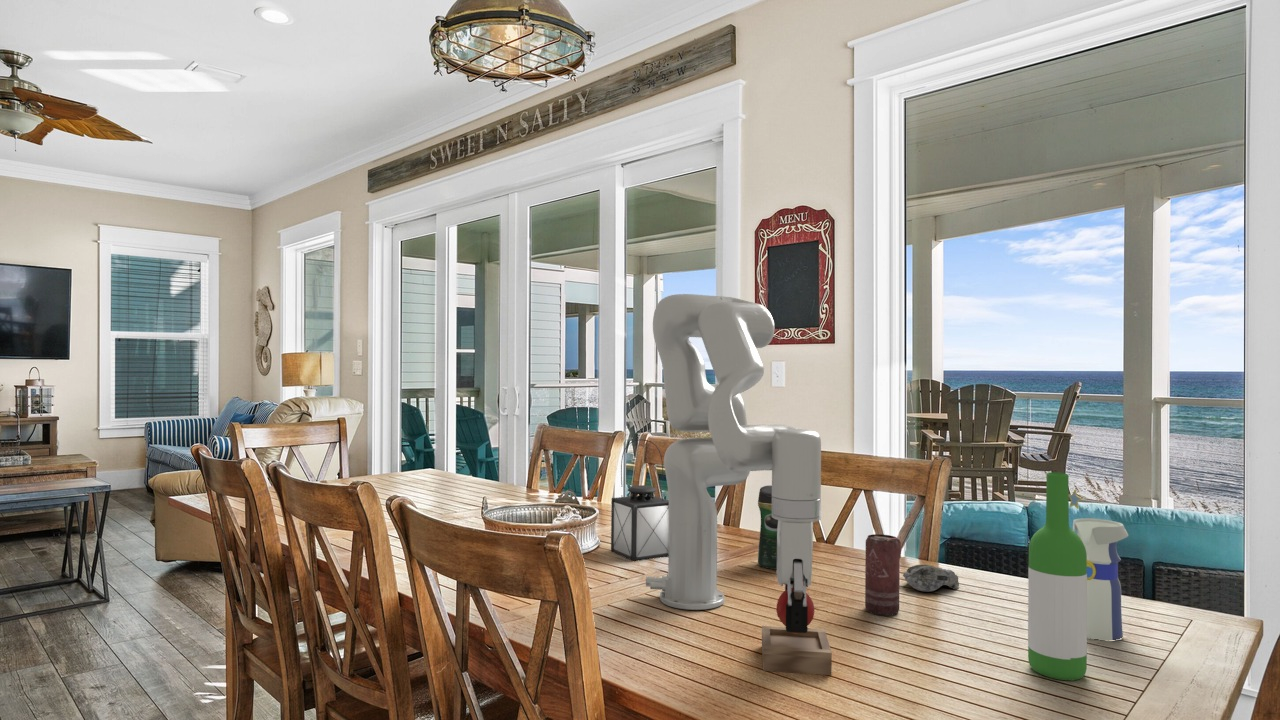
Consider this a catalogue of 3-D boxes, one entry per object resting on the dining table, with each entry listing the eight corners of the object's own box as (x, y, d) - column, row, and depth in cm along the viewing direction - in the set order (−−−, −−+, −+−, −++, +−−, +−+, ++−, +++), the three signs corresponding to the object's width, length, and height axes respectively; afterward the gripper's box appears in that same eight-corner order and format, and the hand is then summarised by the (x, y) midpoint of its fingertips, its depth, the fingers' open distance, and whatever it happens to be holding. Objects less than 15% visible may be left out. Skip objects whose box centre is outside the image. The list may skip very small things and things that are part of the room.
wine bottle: (1099, 680, 109) (1100, 476, 110) (1054, 684, 108) (1054, 477, 108) (1059, 660, 117) (1059, 469, 117) (1016, 663, 115) (1017, 470, 116)
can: (902, 617, 136) (903, 541, 137) (866, 615, 138) (867, 539, 138) (898, 607, 142) (898, 534, 143) (863, 605, 144) (864, 532, 144)
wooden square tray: (763, 670, 112) (763, 648, 112) (761, 646, 121) (762, 625, 122) (831, 675, 110) (831, 652, 110) (824, 650, 120) (824, 629, 120)
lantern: (610, 551, 184) (611, 438, 184) (649, 546, 190) (649, 436, 190) (632, 562, 174) (634, 442, 174) (672, 556, 180) (673, 440, 180)
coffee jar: (804, 565, 172) (805, 485, 173) (794, 573, 165) (795, 490, 166) (764, 560, 177) (765, 482, 177) (753, 567, 170) (754, 486, 170)
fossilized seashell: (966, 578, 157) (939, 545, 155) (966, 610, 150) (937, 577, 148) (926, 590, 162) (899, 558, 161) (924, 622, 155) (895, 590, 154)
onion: (772, 627, 119) (772, 576, 119) (807, 626, 119) (807, 576, 119) (782, 640, 113) (782, 587, 113) (819, 639, 113) (819, 586, 113)
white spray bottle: (1108, 645, 123) (1109, 495, 124) (1059, 629, 131) (1059, 487, 131) (1137, 638, 127) (1137, 492, 128) (1087, 622, 135) (1087, 484, 135)
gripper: (769, 498, 125) (769, 605, 125) (773, 518, 108) (772, 642, 108) (815, 500, 124) (814, 608, 124) (826, 520, 107) (825, 646, 107)
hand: (795, 623), depth 116 cm, fingers closed on onion, 5 cm apart
